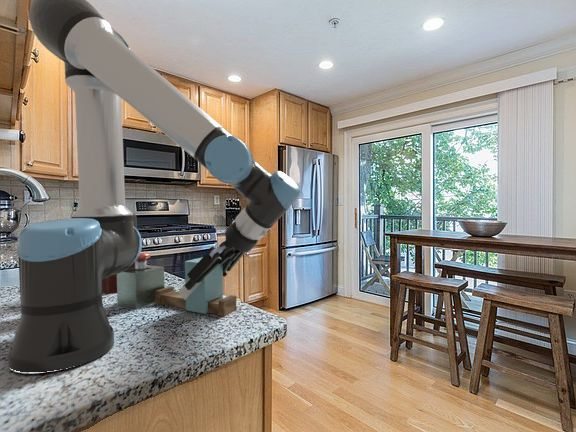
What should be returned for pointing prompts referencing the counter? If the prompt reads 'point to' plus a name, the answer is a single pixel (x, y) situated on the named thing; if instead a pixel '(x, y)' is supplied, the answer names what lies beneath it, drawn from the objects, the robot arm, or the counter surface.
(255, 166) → the robot arm
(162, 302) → the rail
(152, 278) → the grey button housing
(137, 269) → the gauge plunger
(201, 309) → the carriage
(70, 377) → the counter surface
